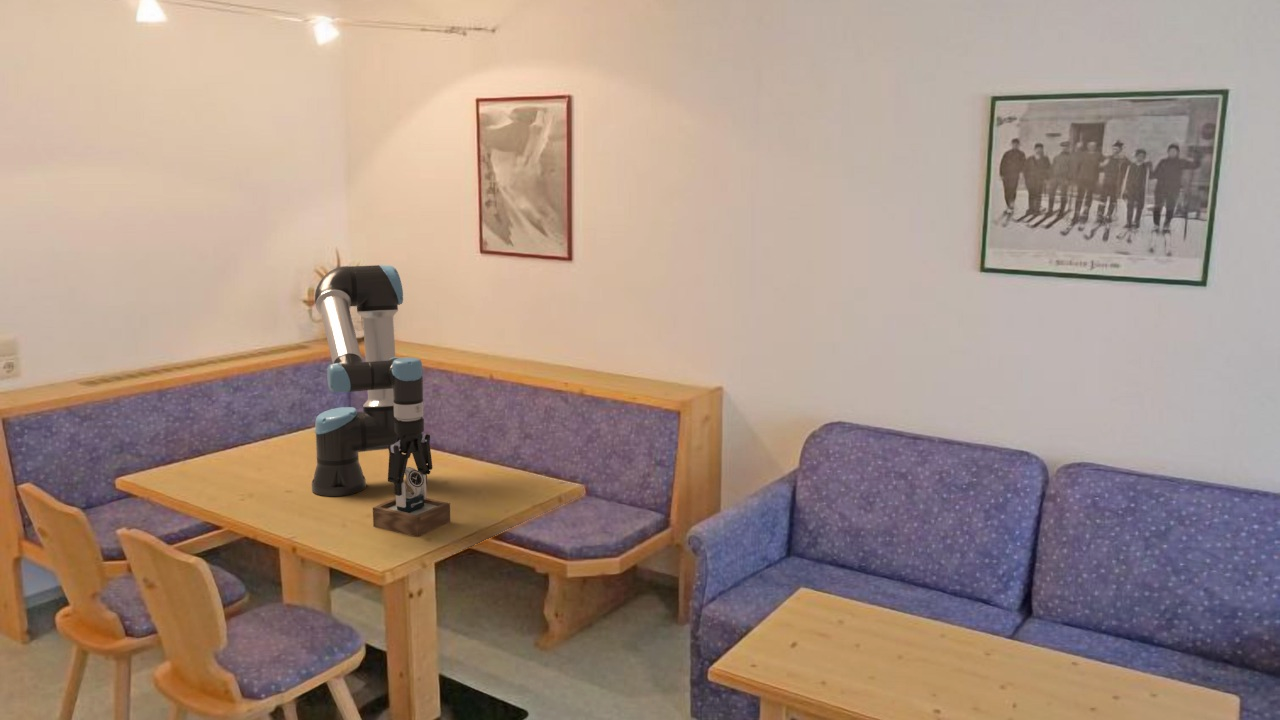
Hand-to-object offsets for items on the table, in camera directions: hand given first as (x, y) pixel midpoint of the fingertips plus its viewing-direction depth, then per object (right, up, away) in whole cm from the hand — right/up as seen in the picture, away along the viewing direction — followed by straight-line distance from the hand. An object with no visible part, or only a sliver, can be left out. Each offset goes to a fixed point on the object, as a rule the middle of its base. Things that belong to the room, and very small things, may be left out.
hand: (411, 501), depth 263 cm
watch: (0, -2, 0) cm, 2 cm away
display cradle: (0, -6, +1) cm, 6 cm away
